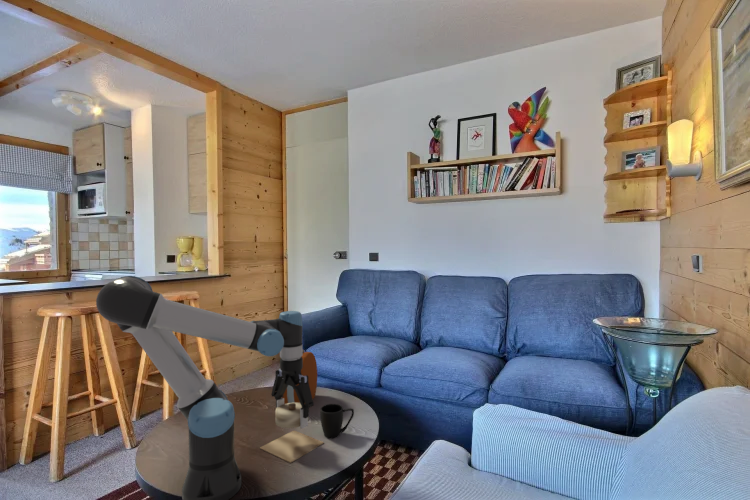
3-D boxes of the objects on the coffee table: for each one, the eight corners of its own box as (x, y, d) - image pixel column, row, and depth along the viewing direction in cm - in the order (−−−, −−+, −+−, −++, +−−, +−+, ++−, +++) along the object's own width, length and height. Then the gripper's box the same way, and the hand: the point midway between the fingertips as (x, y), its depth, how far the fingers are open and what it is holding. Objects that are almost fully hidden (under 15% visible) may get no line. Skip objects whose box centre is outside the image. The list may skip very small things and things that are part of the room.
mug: (354, 439, 134) (354, 412, 134) (319, 440, 133) (319, 413, 133) (353, 428, 143) (353, 402, 143) (321, 429, 141) (320, 404, 141)
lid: (290, 431, 122) (290, 414, 122) (268, 422, 129) (268, 406, 129) (315, 419, 131) (315, 402, 131) (293, 411, 138) (293, 395, 138)
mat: (290, 463, 119) (290, 462, 119) (259, 448, 128) (259, 447, 128) (323, 443, 132) (323, 442, 132) (293, 431, 140) (293, 430, 140)
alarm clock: (297, 392, 179) (297, 343, 179) (317, 393, 177) (317, 344, 177) (277, 412, 157) (276, 357, 157) (300, 413, 155) (299, 358, 155)
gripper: (324, 360, 126) (325, 427, 126) (277, 349, 140) (278, 410, 140) (307, 366, 120) (308, 436, 120) (260, 354, 134) (261, 417, 134)
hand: (292, 422), depth 130 cm, fingers closed on lid, 11 cm apart
